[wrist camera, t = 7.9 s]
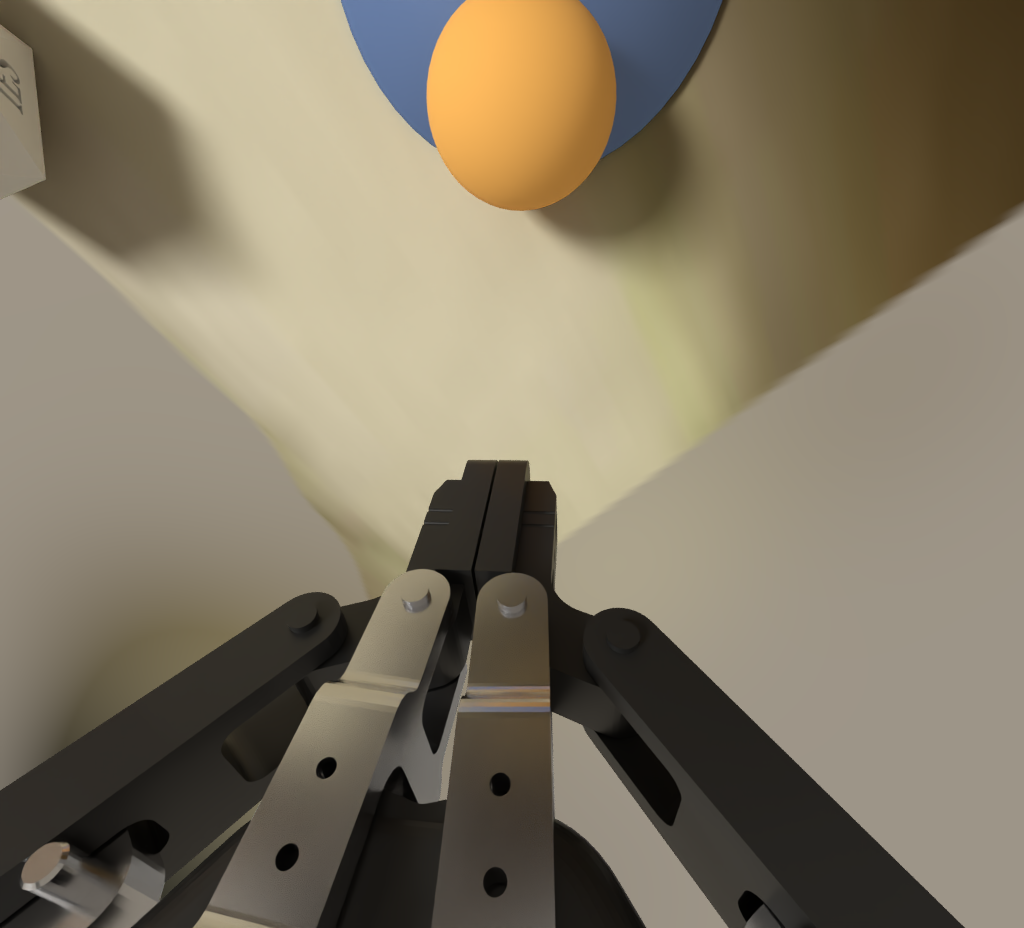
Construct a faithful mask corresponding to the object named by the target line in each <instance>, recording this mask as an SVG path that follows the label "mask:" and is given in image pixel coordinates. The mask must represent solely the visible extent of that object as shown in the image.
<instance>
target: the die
mask: <svg viewBox="0 0 1024 928" xmlns="http://www.w3.org/2000/svg"><path fill="white" fill-rule="evenodd" d="M44 180H46V175H45V165H44V156H43V146H42V137H41V128H40V118H39V109H38V99H37V90H36V81H35V71H34V62H33V52H32V48H30V47H29V46H28V45H26V44H25V43H24V42H23V41H21V40H20V39H19V38H17V37H16V36H15V35H13V34H12V33H11V32H10V31H8V30H7V29H6V28H4V27H3V26H2V25H0V199H3V198H5V197H7V196H10V195H12V194H14V193H17V192H19V191H21V190H23V189H26V188H28V187H30V186H32V185H35V184H37V183H39V182H42V181H44Z"/></svg>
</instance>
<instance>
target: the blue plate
mask: <svg viewBox="0 0 1024 928" xmlns="http://www.w3.org/2000/svg"><path fill="white" fill-rule="evenodd" d="M465 1H466V0H341V3H342V6H343V9H344V12H345V14H346V17H347V20H348V23H349V26H350V29H351V32H352V35H353V37H354V39H355V41H356V43H357V46H358V48H359V50H360V52H361V55H362V57H363V59H364V61H365V63H366V65H367V67H368V68H369V70H370V72H371V74H372V75H373V77H374V79H375V81H376V82H377V84H378V86H379V87H380V89H381V90H382V92H383V93H384V94H385V96H386V97H387V98H388V100H389V101H390V103H391V104H392V105H393V107H394V108H395V110H396V111H397V112H398V113H399V114H400V115H401V116H402V117H403V118H404V119H405V121H406V122H407V123H408V124H409V125H410V126H411V127H412V128H413V129H414V130H415V131H416V132H417V133H418V134H420V135H421V136H422V137H423V138H424V139H425V140H427V141H428V142H429V143H430V144H431V145H433V146H434V147H436V144H435V142H434V139H433V136H432V132H431V128H430V124H429V118H428V112H427V79H428V72H429V66H430V62H431V58H432V54H433V51H434V49H435V46H436V43H437V40H438V38H439V36H440V34H441V32H442V30H443V28H444V27H445V25H446V24H447V22H448V20H449V19H450V17H451V16H452V15H453V14H454V12H455V11H456V10H457V9H458V8H459V7H460V5H461V4H463V3H464V2H465ZM579 1H580V2H581V3H582V4H583V5H584V6H585V7H586V8H587V9H588V10H589V11H590V13H591V14H592V16H593V17H594V18H595V20H596V21H597V23H598V25H599V26H600V28H601V30H602V32H603V34H604V36H605V38H606V41H607V44H608V46H609V49H610V52H611V56H612V61H613V65H614V70H615V78H616V108H615V116H614V121H613V126H612V130H611V133H610V136H609V139H608V143H607V145H606V147H605V149H604V152H603V154H602V156H601V158H603V157H604V156H606V155H608V154H609V153H611V152H613V151H614V150H616V149H617V148H619V147H621V146H622V145H623V144H624V143H626V142H627V141H628V140H629V139H631V138H632V137H633V136H634V135H636V134H637V133H638V132H639V131H641V130H642V129H643V128H644V127H645V126H646V125H647V124H648V122H649V121H650V120H651V119H652V118H653V117H654V116H655V115H656V114H657V113H658V112H659V111H660V110H661V109H662V108H663V106H664V105H665V104H666V103H667V101H668V100H669V99H670V98H671V96H672V95H673V94H674V92H675V91H676V90H677V89H678V87H679V86H680V84H681V83H682V81H683V80H684V78H685V76H686V75H687V73H688V72H689V70H690V69H691V67H692V65H693V64H694V62H695V61H696V59H697V57H698V55H699V53H700V51H701V49H702V47H703V45H704V43H705V41H706V39H707V37H708V35H709V33H710V31H711V29H712V26H713V23H714V21H715V18H716V16H717V13H718V11H719V8H720V5H721V3H722V0H579ZM436 148H437V147H436ZM601 158H600V159H601ZM600 159H599V160H600Z"/></svg>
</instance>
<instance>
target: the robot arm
mask: <svg viewBox="0 0 1024 928" xmlns="http://www.w3.org/2000/svg"><path fill="white" fill-rule="evenodd" d="M556 552H557V505H556V494H555V492H554V490H553V489H552V487H551V485H550V483H549V481H530V468H529V461H520V460H499V462H498V461H497V460H468V461H467V464H466V467H465V470H464V473H463V477H462V480H446V481H445V482H444V484H443V485H442V486H441V487H440V488H439V489H438V490H437V491H436V492H435V493H434V495H433V498H432V500H431V503H430V506H429V512H427V515H426V517H425V520H424V525H423V526H422V529H421V531H420V534H419V537H418V540H417V543H416V545H415V548H414V551H413V554H412V557H411V560H410V562H409V565H408V568H407V571H406V573H403V574H401V575H399V576H398V577H396V578H395V579H394V580H392V581H391V582H390V583H389V584H388V586H387V587H386V588H385V590H384V592H383V594H382V596H380V597H377V598H375V599H372V600H368V601H364V602H360V603H355V604H351V605H347V606H342V607H340V605H339V603H338V601H337V600H336V599H335V598H334V597H333V596H331V595H329V594H326V593H321V592H312V593H307V594H303V595H300V596H298V597H295V598H293V599H292V600H290V601H288V602H287V603H285V604H284V605H282V606H281V607H279V608H278V609H276V610H274V611H273V612H271V613H270V614H268V615H267V616H265V617H264V618H262V619H261V620H259V621H258V622H256V623H255V624H253V625H252V626H250V627H249V628H247V629H246V630H244V631H243V632H241V633H239V634H238V635H236V636H235V637H233V638H232V639H230V640H229V641H227V642H226V643H224V644H223V645H221V646H220V647H218V648H217V649H215V650H214V651H212V652H210V653H209V654H208V655H206V656H204V657H203V658H201V659H200V660H199V661H197V662H195V663H194V664H192V665H191V666H189V667H188V668H186V669H185V670H183V671H182V672H180V673H179V674H177V675H175V676H174V677H173V678H171V679H169V680H168V681H166V682H165V683H163V684H162V685H160V686H159V687H157V688H156V689H154V690H153V691H151V692H150V693H148V694H147V695H145V696H144V697H142V698H140V699H139V700H137V701H136V702H135V703H133V704H131V705H130V706H128V707H127V708H125V709H124V710H122V711H121V712H119V713H118V714H116V715H115V716H113V717H112V718H110V719H108V720H107V721H106V722H104V723H103V724H101V725H99V726H98V727H96V728H95V729H93V730H92V731H90V732H89V733H87V734H86V735H84V736H83V737H81V738H80V739H78V740H77V741H75V742H74V743H72V744H71V745H69V746H67V747H66V748H65V749H63V750H61V751H60V752H58V753H57V754H55V755H54V756H52V757H51V758H49V759H48V760H46V761H45V762H43V763H41V764H40V765H38V766H37V767H35V768H34V769H33V770H31V771H29V772H28V773H26V774H25V775H23V776H22V777H20V778H19V779H17V780H16V781H14V782H13V783H11V784H10V785H8V786H6V787H5V788H3V789H2V790H0V928H646V927H645V925H644V923H643V921H642V920H641V918H640V917H639V915H638V913H637V911H636V910H635V908H634V906H633V905H632V903H631V901H630V900H629V898H628V896H627V894H626V893H625V891H624V889H623V888H622V886H621V884H620V883H619V881H618V879H617V878H616V876H615V874H614V873H613V871H612V870H611V868H610V867H609V866H608V864H607V863H606V862H605V860H604V859H603V858H602V857H601V855H600V854H599V853H598V852H597V851H596V850H595V848H594V847H593V846H592V845H591V844H590V843H589V842H588V841H587V840H586V839H585V838H583V837H582V836H581V835H580V834H578V833H577V832H576V831H575V830H573V829H572V828H570V827H569V826H567V825H565V824H564V823H562V822H561V821H559V820H557V819H555V806H554V805H555V803H554V774H553V773H554V772H553V737H552V712H554V713H556V714H559V715H561V716H563V717H565V718H568V719H570V720H572V721H575V722H577V723H579V724H581V725H583V727H584V729H585V731H586V733H587V735H588V736H589V737H590V739H591V740H592V742H593V743H594V744H595V746H596V747H597V749H598V750H599V751H600V753H601V754H602V755H603V757H604V758H605V759H606V761H607V762H608V764H609V765H610V766H611V767H612V769H613V770H614V772H615V773H616V774H617V776H618V777H619V779H620V780H621V781H622V783H623V784H624V785H625V787H626V788H627V789H628V791H629V792H630V794H631V795H632V796H633V797H634V799H635V800H636V802H637V803H638V804H639V806H640V807H641V809H642V810H643V811H644V812H645V814H646V815H647V817H648V818H649V819H650V821H651V822H652V824H653V825H654V826H655V828H656V829H657V830H658V832H659V833H660V834H661V836H662V837H663V839H664V840H665V841H666V843H667V844H668V845H669V847H670V848H671V849H672V851H673V852H674V854H675V855H676V856H677V858H678V859H679V860H680V862H681V863H682V864H683V866H684V867H685V869H686V870H687V871H688V873H689V874H690V875H691V877H692V878H693V879H694V881H695V882H696V884H697V885H698V886H699V888H700V889H701V890H702V892H703V893H704V894H705V896H706V897H707V899H708V900H709V901H710V903H711V904H712V905H713V907H714V908H715V910H716V911H717V912H718V914H719V915H720V916H721V918H722V919H723V920H724V922H725V923H726V924H727V926H728V927H729V928H965V927H964V926H963V925H961V924H960V923H959V922H958V921H957V920H956V919H955V918H954V917H953V916H952V915H951V914H950V913H949V912H948V911H947V910H946V909H945V908H944V907H943V906H942V905H941V904H940V903H939V902H938V901H937V900H936V899H935V898H934V897H933V896H932V895H931V894H930V893H929V892H928V891H927V890H926V889H925V888H924V887H923V886H922V885H920V884H919V882H918V881H916V880H915V879H914V878H913V877H912V876H911V875H910V874H909V873H908V872H907V871H906V870H905V869H904V868H903V867H902V866H901V865H900V864H899V863H898V862H897V861H896V860H895V859H894V858H893V857H892V856H891V855H890V854H889V853H888V852H887V851H886V850H885V849H884V848H883V847H882V846H881V845H880V844H879V843H878V842H877V841H876V840H875V839H873V838H872V837H871V836H870V835H869V834H868V833H867V832H866V831H865V830H864V829H863V828H862V827H861V826H860V825H859V824H858V823H857V822H856V821H855V820H854V819H853V818H852V817H851V816H850V815H849V814H848V813H847V812H846V811H845V810H844V809H843V808H842V807H841V806H840V805H839V804H838V803H837V802H836V801H835V800H834V799H833V798H832V797H830V795H828V793H826V792H825V791H824V790H823V789H822V788H821V787H820V786H819V785H818V784H817V783H816V782H815V781H814V780H813V779H812V778H811V777H810V776H809V775H808V774H807V773H806V772H805V771H804V770H803V769H802V768H801V767H800V766H799V765H798V764H797V763H796V762H795V761H794V760H792V758H791V757H789V755H788V754H787V753H786V752H784V750H782V749H781V748H780V747H779V746H778V745H777V744H776V743H775V742H774V741H773V740H772V739H771V738H770V737H769V736H768V735H767V734H766V733H765V732H764V731H763V730H762V729H761V728H760V727H759V726H758V725H757V724H756V723H755V722H754V721H753V720H752V719H751V718H750V717H749V716H748V715H747V714H746V713H745V712H744V711H743V710H742V709H741V708H740V707H739V706H738V705H736V704H735V703H734V702H733V701H732V700H731V699H730V698H729V697H728V696H727V695H726V694H725V693H724V692H723V691H722V690H721V689H720V688H719V687H718V686H717V685H716V684H715V683H714V682H713V681H712V680H711V679H710V678H709V677H708V676H707V675H706V674H705V673H704V672H703V671H702V670H701V669H700V668H699V667H698V666H697V665H696V664H694V663H693V661H692V660H690V659H689V658H688V657H687V656H686V655H685V654H684V653H683V652H682V651H681V650H680V649H679V648H678V647H677V646H676V645H675V644H674V643H673V642H672V641H671V640H670V639H669V638H668V637H667V636H666V635H665V634H664V633H663V632H662V631H661V630H660V629H659V628H658V627H657V626H656V625H655V624H654V623H652V621H650V620H649V619H648V618H647V617H645V616H644V615H642V614H641V613H638V612H636V611H633V610H630V609H625V608H611V609H607V610H603V611H601V612H599V613H597V614H596V615H595V616H593V615H590V614H587V613H584V612H582V611H579V610H576V609H574V608H572V607H570V606H569V605H567V604H566V603H564V602H563V601H562V600H561V599H560V598H559V597H558V595H557V594H556V593H555V591H554V589H555V569H556ZM470 640H472V649H471V659H470V667H469V676H468V685H467V691H466V695H465V696H462V698H461V700H460V696H461V693H462V689H463V685H464V682H465V678H466V674H467V664H466V660H467V655H468V650H469V645H470ZM459 700H460V703H459ZM458 704H459V708H458V713H457V722H456V729H455V738H454V746H453V755H452V762H451V770H450V779H449V788H448V795H447V800H442V801H439V799H440V793H441V782H442V765H443V759H444V755H445V751H446V747H447V744H448V740H449V736H450V733H451V729H452V725H453V721H454V718H455V714H456V711H457V707H458ZM259 801H261V802H260V804H259V806H258V808H257V810H256V812H255V814H254V816H253V818H252V820H250V821H249V822H248V823H246V824H245V825H244V826H243V827H241V828H240V829H239V830H238V831H236V832H235V833H234V834H233V835H232V836H231V837H230V838H229V839H227V840H226V841H225V842H224V843H223V844H222V845H221V846H220V847H219V848H218V849H216V850H215V851H214V852H213V853H212V854H211V855H210V856H209V857H208V858H207V859H205V860H204V861H203V862H202V863H201V864H200V865H199V866H198V867H197V868H196V869H194V871H192V872H191V873H190V874H189V875H188V876H187V877H186V878H185V879H183V880H182V881H181V882H180V883H179V884H178V885H177V886H176V887H175V888H174V889H172V890H171V891H170V892H169V893H168V894H167V895H166V896H165V897H164V898H163V899H162V900H161V898H160V896H161V894H162V890H163V887H164V883H165V882H166V881H167V880H168V879H169V878H170V877H171V876H173V875H174V874H175V873H176V872H177V871H179V870H180V869H181V868H182V867H183V866H184V865H186V864H187V863H188V862H189V861H190V860H192V859H193V858H194V857H195V856H196V855H197V854H199V853H200V852H201V851H202V850H203V849H204V848H206V847H207V846H208V845H209V844H210V843H211V842H213V841H214V840H215V839H216V838H217V837H218V836H220V835H221V834H222V833H223V832H224V831H225V830H226V829H228V828H229V827H230V826H231V825H232V824H233V823H235V822H236V821H237V820H238V819H239V818H241V817H242V816H243V815H244V814H245V813H246V812H247V811H249V810H250V809H251V808H252V807H254V806H255V805H256V804H257V803H258V802H259Z"/></svg>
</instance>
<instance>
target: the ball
mask: <svg viewBox="0 0 1024 928" xmlns="http://www.w3.org/2000/svg"><path fill="white" fill-rule="evenodd" d="M615 108H616V78H615V70H614V65H613V61H612V56H611V52H610V49H609V46H608V44H607V41H606V38H605V36H604V34H603V32H602V30H601V28H600V26H599V25H598V23H597V21H596V20H595V18H594V17H593V16H592V14H591V13H590V11H589V10H588V9H587V8H586V7H585V6H584V5H583V4H582V3H581V2H580V1H579V0H466V1H465V2H464V3H463V4H461V5H460V7H459V8H458V9H457V10H456V11H455V12H454V14H453V15H452V16H451V17H450V19H449V20H448V22H447V24H446V25H445V27H444V28H443V30H442V32H441V34H440V36H439V38H438V40H437V43H436V46H435V49H434V51H433V54H432V58H431V62H430V66H429V72H428V79H427V112H428V118H429V124H430V128H431V132H432V136H433V139H434V142H435V144H436V147H437V149H438V152H439V154H440V155H441V157H442V159H443V161H444V163H445V165H446V166H447V168H448V169H449V171H450V172H451V174H452V175H453V176H454V177H455V179H456V180H457V181H458V182H459V183H460V184H461V185H462V186H463V187H464V188H465V189H466V190H467V191H468V192H470V193H471V194H473V195H474V196H475V197H477V198H478V199H480V200H482V201H484V202H486V203H488V204H490V205H493V206H496V207H499V208H502V209H507V210H518V211H524V210H533V209H538V208H542V207H546V206H549V205H551V204H553V203H556V202H558V201H559V200H561V199H563V198H564V197H566V196H568V195H569V194H570V193H571V192H573V191H574V190H575V189H576V188H577V187H578V186H579V185H580V184H581V183H582V182H583V181H584V180H585V179H586V178H587V177H588V176H589V174H590V173H591V172H592V170H593V169H594V168H595V166H596V164H597V163H598V161H599V159H600V158H601V156H602V154H603V152H604V149H605V147H606V145H607V143H608V139H609V136H610V133H611V130H612V126H613V121H614V116H615Z"/></svg>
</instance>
